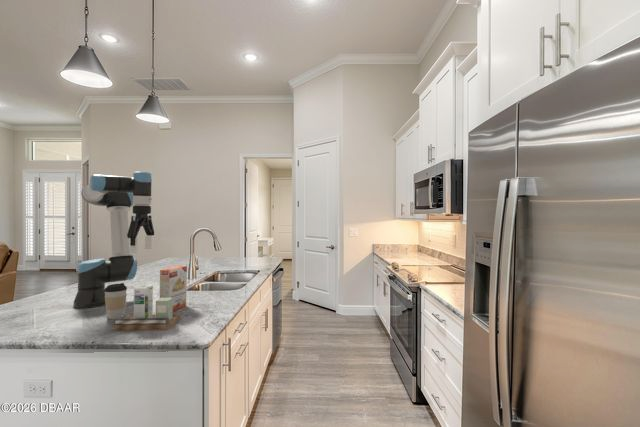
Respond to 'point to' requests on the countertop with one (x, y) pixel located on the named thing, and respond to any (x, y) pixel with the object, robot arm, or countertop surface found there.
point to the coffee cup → (115, 300)
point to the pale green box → (164, 308)
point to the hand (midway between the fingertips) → (141, 250)
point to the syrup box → (143, 302)
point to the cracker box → (174, 285)
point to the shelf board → (144, 323)
